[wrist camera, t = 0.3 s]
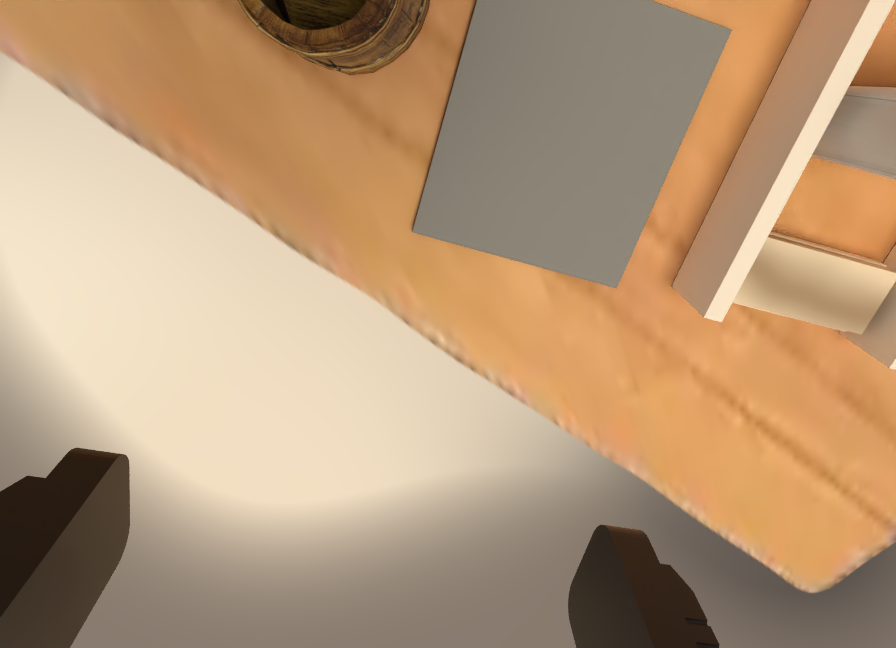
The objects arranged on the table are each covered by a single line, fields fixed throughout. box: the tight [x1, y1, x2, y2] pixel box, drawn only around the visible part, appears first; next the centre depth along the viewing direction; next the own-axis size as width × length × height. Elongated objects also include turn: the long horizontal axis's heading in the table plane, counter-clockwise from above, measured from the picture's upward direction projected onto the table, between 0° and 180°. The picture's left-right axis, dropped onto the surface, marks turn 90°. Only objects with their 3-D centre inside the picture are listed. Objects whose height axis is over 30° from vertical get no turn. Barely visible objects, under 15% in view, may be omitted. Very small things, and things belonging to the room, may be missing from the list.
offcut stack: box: [732, 231, 896, 335], centre depth 39 cm, size 5×11×3 cm, turn 74°
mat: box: [412, 0, 732, 288], centre depth 35 cm, size 16×14×1 cm
